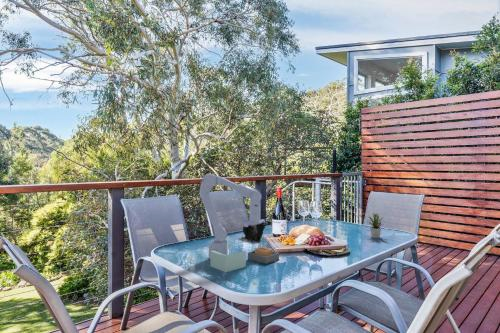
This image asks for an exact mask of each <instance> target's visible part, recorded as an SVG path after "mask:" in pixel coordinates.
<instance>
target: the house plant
mask: <svg viewBox="0 0 500 333" xmlns="http://www.w3.org/2000/svg"><path fill="white" fill-rule="evenodd" d="M372 213H373V214H372V215H373V216H372V217H373V218H372V217H371V216H370V215H369V214H366V216H367V218H369V220H366V222H365V223H366V224H367V223H368V222H369V224H370V227H369V230H370V236H371V238H373V239H380V238H381V232H382V227H381V226H382V225H383V226H384V223H385V221H382V219H383V217H381V218H380V216H379V214H378V212H376V213H374V212H372ZM382 222H383V224H382Z"/></svg>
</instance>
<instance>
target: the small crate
mask: <svg viewBox="0 0 500 333" xmlns="http://www.w3.org/2000/svg"><path fill="white" fill-rule="evenodd" d="M254 251H255V254H257V255H261V256H265V257H267V256H270V255H272V252H273V249H272V248H268V247H263V246H260V247H256V248H254Z"/></svg>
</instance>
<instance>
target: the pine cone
mask: <svg viewBox="0 0 500 333" xmlns="http://www.w3.org/2000/svg"><path fill="white" fill-rule="evenodd" d="M252 227H254V230H253V234H252V240H251V241H252V242H261V241H262V240H261V239H262V237H263V235H264V232H263V233H262V237H261V238H260V237H258V236H257V227H256V225H252ZM242 232H243V234H244V238H245V239H247V240H248V236H247V233H246V231H245V229H244V226H243V227H242Z"/></svg>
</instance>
